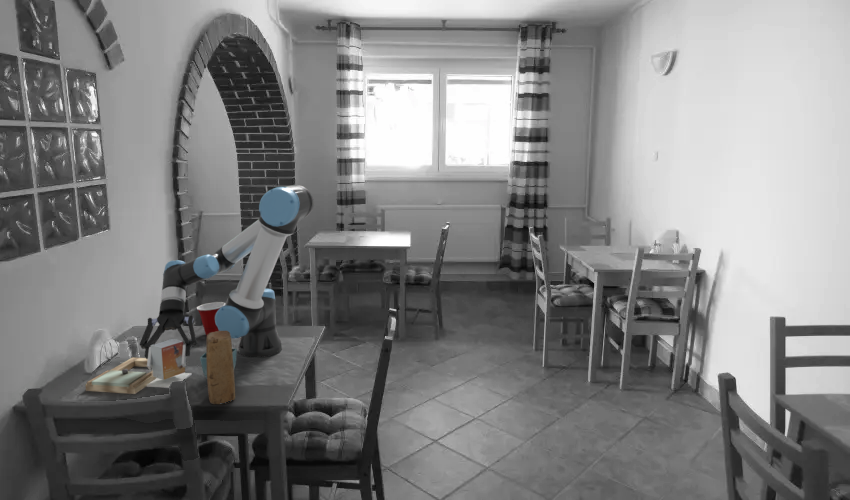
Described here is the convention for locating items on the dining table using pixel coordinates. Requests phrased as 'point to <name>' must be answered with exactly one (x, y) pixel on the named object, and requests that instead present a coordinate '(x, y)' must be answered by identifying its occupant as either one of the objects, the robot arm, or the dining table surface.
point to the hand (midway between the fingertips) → (166, 366)
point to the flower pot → (204, 361)
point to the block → (220, 367)
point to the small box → (167, 359)
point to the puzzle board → (122, 378)
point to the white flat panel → (168, 380)
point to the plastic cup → (209, 316)
